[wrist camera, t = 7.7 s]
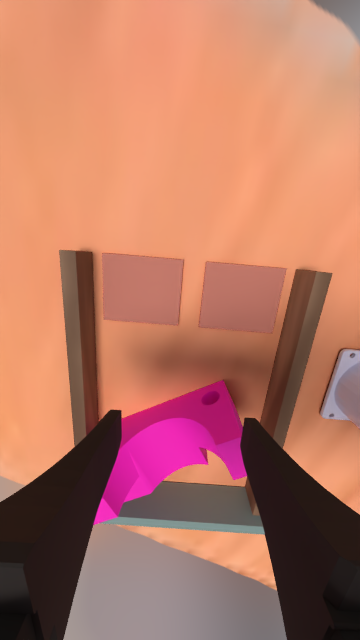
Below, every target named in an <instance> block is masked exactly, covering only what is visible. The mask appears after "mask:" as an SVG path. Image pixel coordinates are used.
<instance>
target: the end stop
mask: <svg viewBox="0 0 360 640" xmlns="http://www.w3.org/2000/svg"><path fill="white" fill-rule="evenodd" d="M101 523H103V524H118V525H132V526H147V527H162V528H176V529H191V530H206V531H220V532H235V533H250V534H265V533H264V529H263V524H262V521H261V517H260V516H255V515H253V514H252V511H251V507H250V503H249V500H248V496H247V492H246V489H245V487H236V486H222V485H207V484H193V483H179V482H165V481H162V482H161V483H159V485H158V486H157V487H156V488H155V489H154V490H153V492H152V493H151V494H148V495H145V496H142V497H139V498H136V499H133V500H130V501H127V502H124V503H123V505H122V507H121V510H120V513H119V515H118V517H117V518H114V519H111V520H107V521H104V522H101Z"/></svg>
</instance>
